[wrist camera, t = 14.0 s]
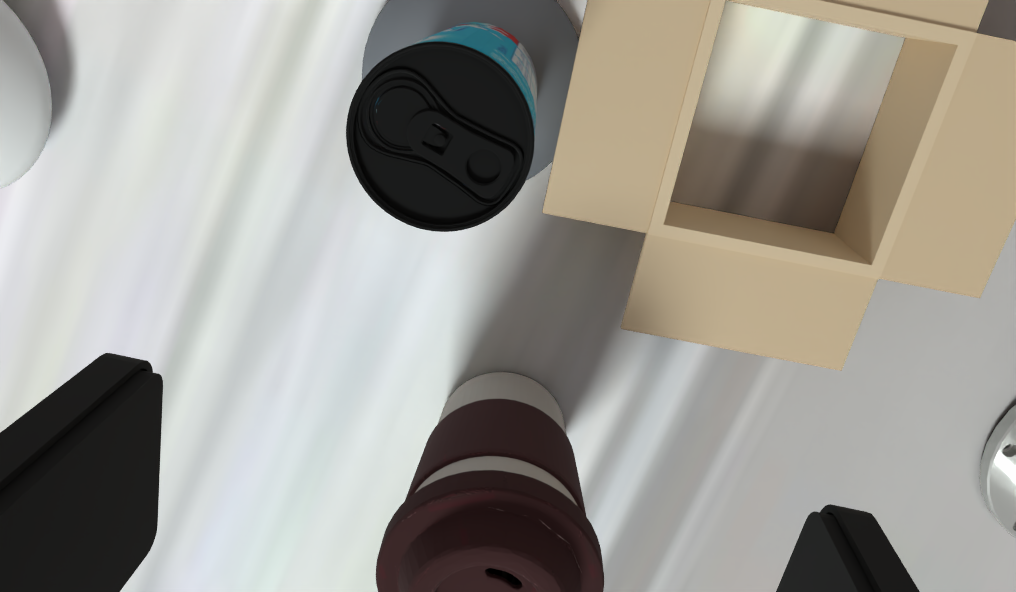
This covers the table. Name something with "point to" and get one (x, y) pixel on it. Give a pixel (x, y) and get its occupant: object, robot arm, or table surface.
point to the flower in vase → (21, 99)
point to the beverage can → (446, 127)
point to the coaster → (516, 9)
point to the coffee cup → (494, 500)
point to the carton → (776, 246)
